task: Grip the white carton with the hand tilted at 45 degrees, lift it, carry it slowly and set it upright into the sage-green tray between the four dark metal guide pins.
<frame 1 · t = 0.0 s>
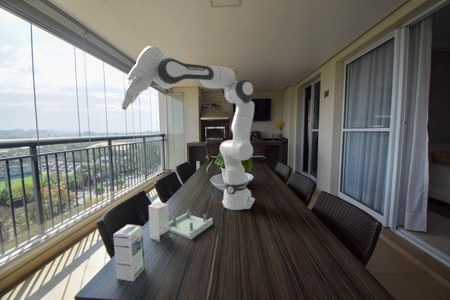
hand: (123, 108, 78), 54 cm above the table, tool tilted 30°, fingers open, 8 cm apart
pin tray: (190, 226, 86), on the table
syrup box: (131, 274, 58), on the table
white carton: (159, 237, 78), on the table
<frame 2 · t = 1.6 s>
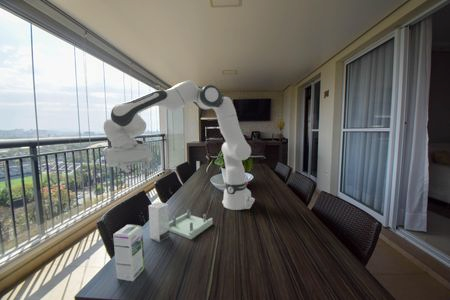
hand: (138, 169, 82), 28 cm above the table, tool tilted 45°, fingers open, 8 cm apart
nothing on the table moved.
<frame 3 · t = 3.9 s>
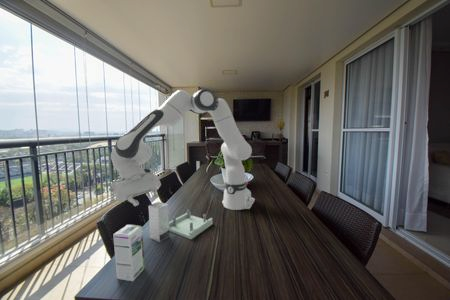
hand: (147, 201, 80), 14 cm above the table, tool tilted 45°, fingers open, 8 cm apart
nothing on the table moved.
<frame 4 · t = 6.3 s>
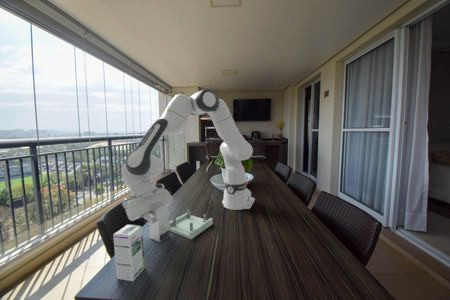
hand: (160, 219, 77), 8 cm above the table, tool tilted 45°, fingers closed on white carton, 5 cm apart
white carton: (159, 237, 78), on the table, touching gripper
everything else where it was.
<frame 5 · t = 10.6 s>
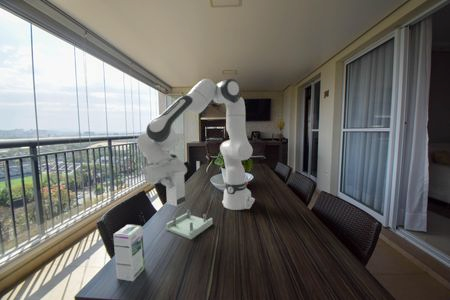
hand: (176, 185, 80), 21 cm above the table, tool tilted 45°, fingers closed on white carton, 5 cm apart
white carton: (176, 202, 81), point 13 cm above the table, touching gripper
everything else where it was.
when the fingers open (10 cm above the table, at t = 14.9 s): white carton drops 1 cm, resting on pin tray.
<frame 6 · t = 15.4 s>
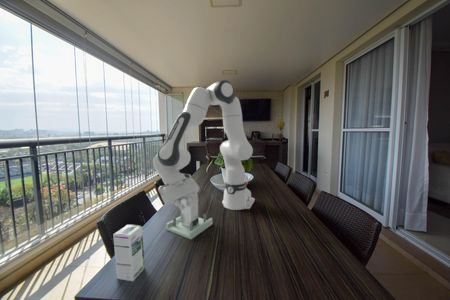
hand: (190, 205, 85), 10 cm above the table, tool tilted 45°, fingers open, 8 cm apart
white carton: (190, 224, 86), point 1 cm above the table, touching pin tray
everything else where it was.
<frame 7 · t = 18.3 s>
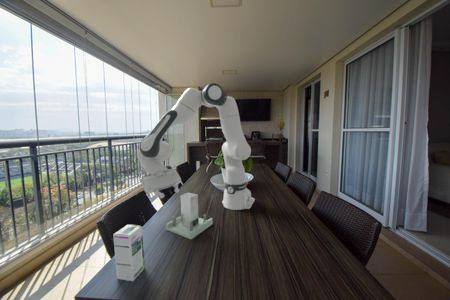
hand: (170, 194, 91), 13 cm above the table, tool tilted 45°, fingers open, 8 cm apart
nothing on the table moved.
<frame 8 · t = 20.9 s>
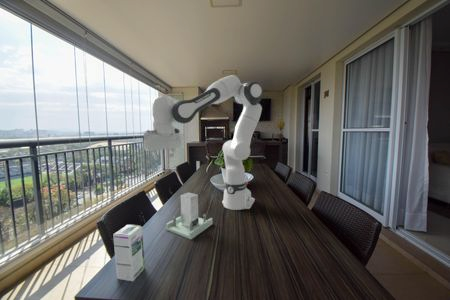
hand: (164, 158, 91), 31 cm above the table, tool pointing down, fingers open, 8 cm apart
nothing on the table moved.
at the end: white carton 0.1 cm off-centre on the pin tray, point 1.2 cm above the pin tray's base; white carton tilted 0°; the gripper is holding nothing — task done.
